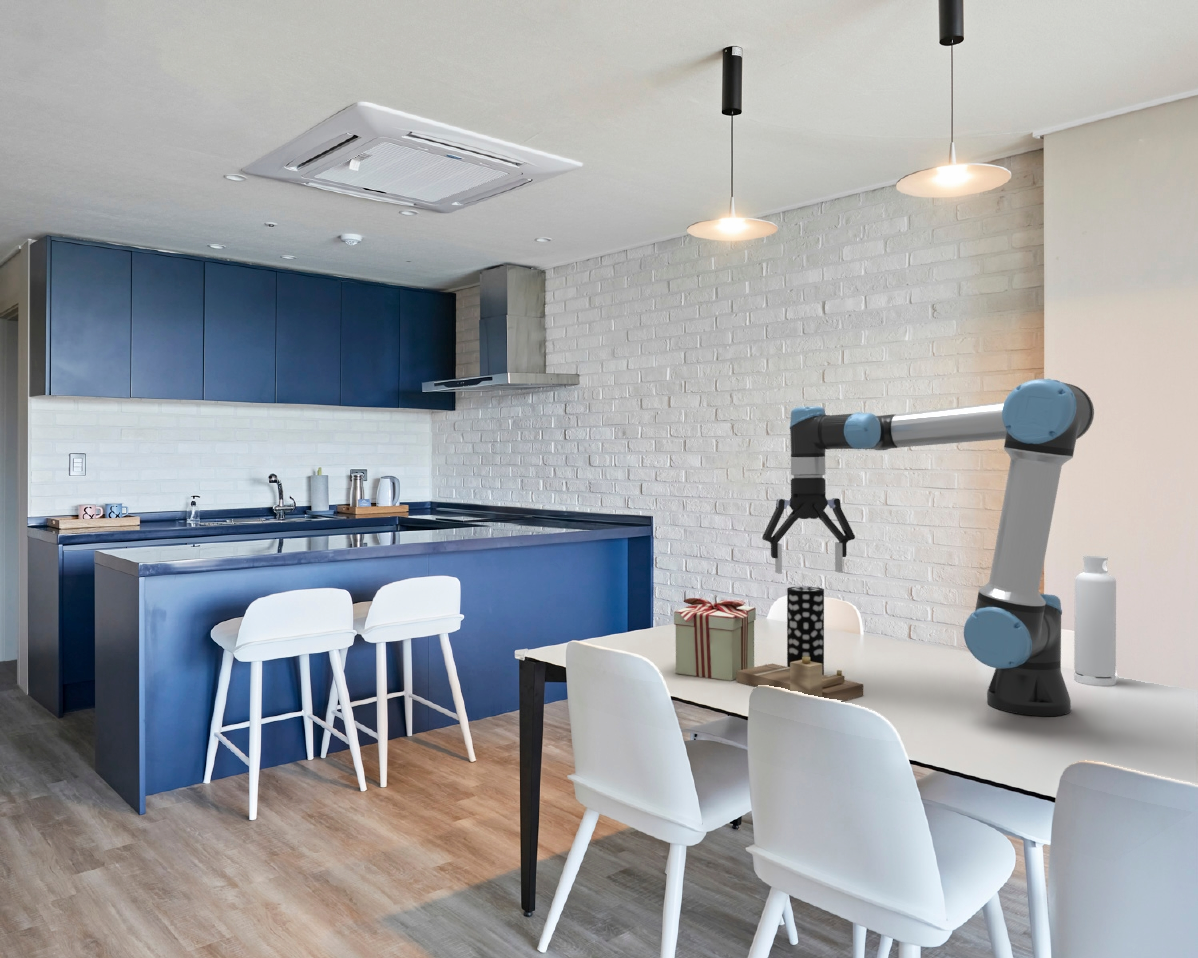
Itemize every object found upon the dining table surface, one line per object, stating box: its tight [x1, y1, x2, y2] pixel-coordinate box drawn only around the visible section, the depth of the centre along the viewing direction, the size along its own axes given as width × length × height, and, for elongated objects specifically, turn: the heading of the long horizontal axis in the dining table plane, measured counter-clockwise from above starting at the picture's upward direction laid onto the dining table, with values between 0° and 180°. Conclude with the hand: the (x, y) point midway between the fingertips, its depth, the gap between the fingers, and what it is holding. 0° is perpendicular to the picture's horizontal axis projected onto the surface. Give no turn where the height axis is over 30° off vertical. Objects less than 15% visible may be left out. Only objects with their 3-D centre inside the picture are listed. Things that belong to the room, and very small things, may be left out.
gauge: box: [790, 656, 846, 697], centre depth 184 cm, size 5×13×9 cm, turn 128°
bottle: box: [1073, 555, 1117, 687], centre depth 199 cm, size 8×8×28 cm
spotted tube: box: [786, 586, 825, 675], centre depth 206 cm, size 8×8×20 cm
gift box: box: [673, 597, 757, 682], centre depth 209 cm, size 17×18×17 cm
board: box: [736, 663, 864, 702], centre depth 193 cm, size 25×12×3 cm, turn 38°
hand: (808, 572), depth 197 cm, fingers open, 13 cm apart
